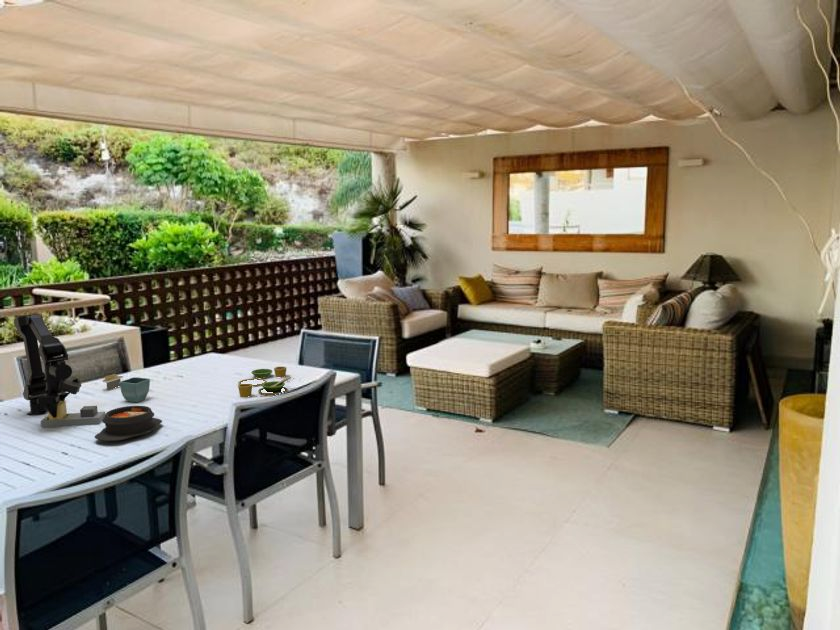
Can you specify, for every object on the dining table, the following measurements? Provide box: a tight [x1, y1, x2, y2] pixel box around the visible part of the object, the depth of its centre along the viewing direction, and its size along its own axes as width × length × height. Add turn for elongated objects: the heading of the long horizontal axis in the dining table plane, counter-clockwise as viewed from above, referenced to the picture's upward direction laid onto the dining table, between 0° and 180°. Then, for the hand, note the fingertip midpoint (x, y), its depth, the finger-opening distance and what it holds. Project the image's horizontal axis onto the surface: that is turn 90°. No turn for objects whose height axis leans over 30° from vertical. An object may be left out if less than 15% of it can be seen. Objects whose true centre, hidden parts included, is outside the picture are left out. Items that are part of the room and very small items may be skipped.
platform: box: [101, 373, 124, 391], centre depth 282 cm, size 12×18×7 cm, turn 162°
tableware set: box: [237, 366, 292, 398], centre depth 287 cm, size 41×28×6 cm
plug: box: [47, 400, 68, 420], centre depth 234 cm, size 5×5×10 cm
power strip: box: [40, 405, 106, 428], centre depth 235 cm, size 8×20×6 cm, turn 101°
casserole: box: [94, 405, 163, 442], centre depth 223 cm, size 25×19×8 cm
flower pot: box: [119, 376, 151, 403], centre depth 263 cm, size 9×9×9 cm
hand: (57, 415), depth 234 cm, fingers open, 5 cm apart
